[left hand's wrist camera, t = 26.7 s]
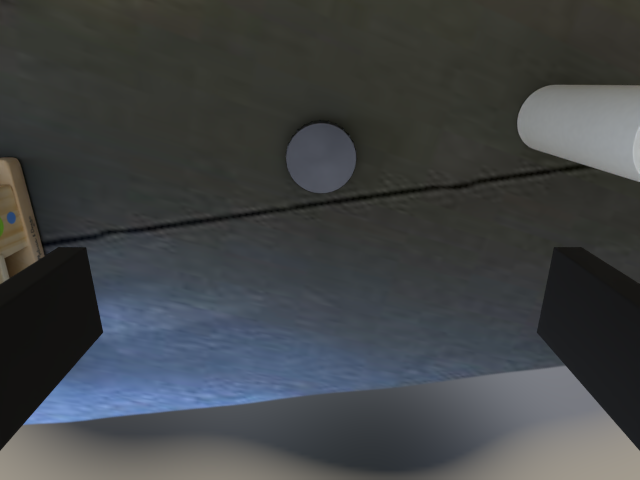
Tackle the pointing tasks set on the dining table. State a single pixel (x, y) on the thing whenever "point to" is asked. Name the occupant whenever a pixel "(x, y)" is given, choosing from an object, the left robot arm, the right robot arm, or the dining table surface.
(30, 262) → the pounding bench toy
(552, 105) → the jar
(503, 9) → the dining table surface
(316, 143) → the lid
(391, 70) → the dining table surface
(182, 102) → the dining table surface
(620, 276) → the left robot arm
